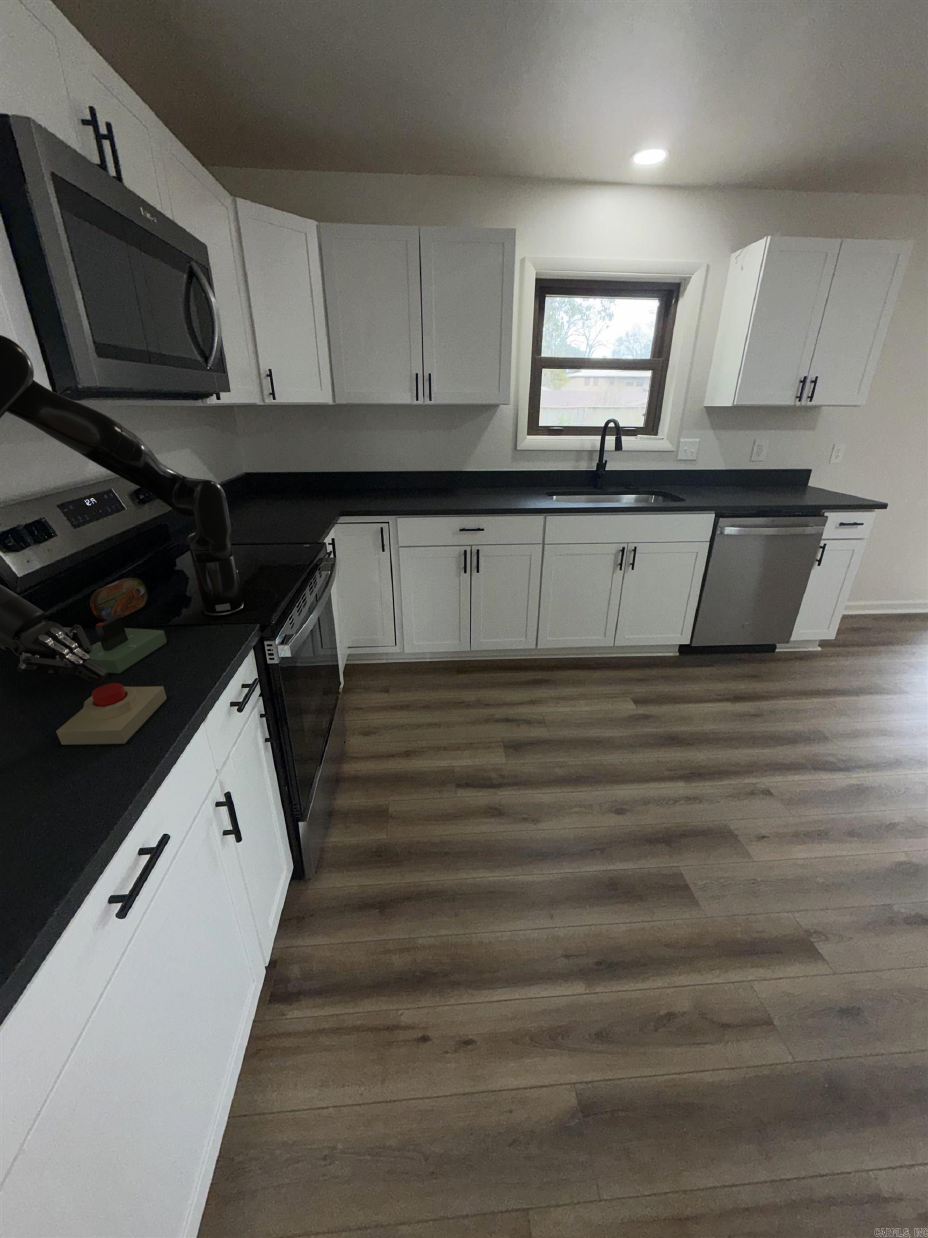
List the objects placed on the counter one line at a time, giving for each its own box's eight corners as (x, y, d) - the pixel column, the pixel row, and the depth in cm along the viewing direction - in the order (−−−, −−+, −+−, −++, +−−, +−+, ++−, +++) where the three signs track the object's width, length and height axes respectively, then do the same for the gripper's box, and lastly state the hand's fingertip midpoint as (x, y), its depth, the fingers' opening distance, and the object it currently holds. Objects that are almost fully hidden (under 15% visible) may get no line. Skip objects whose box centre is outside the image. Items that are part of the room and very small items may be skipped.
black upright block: (121, 639, 107) (113, 615, 104) (128, 639, 106) (120, 615, 104) (103, 650, 102) (94, 625, 100) (109, 650, 102) (101, 625, 100)
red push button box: (112, 699, 91) (104, 678, 89) (167, 698, 91) (160, 677, 89) (61, 745, 79) (51, 721, 77) (124, 743, 79) (116, 720, 77)
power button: (106, 693, 85) (102, 683, 85) (131, 692, 86) (128, 682, 85) (88, 707, 81) (85, 697, 81) (116, 707, 82) (112, 696, 81)
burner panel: (127, 639, 113) (123, 627, 112) (167, 642, 112) (163, 629, 111) (75, 670, 101) (70, 656, 100) (119, 673, 99) (114, 659, 98)
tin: (104, 626, 120) (93, 594, 116) (93, 625, 120) (82, 593, 117) (152, 603, 133) (143, 573, 130) (142, 602, 134) (133, 572, 130)
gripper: (-29, 614, 69) (90, 686, 75) (39, 581, 81) (137, 645, 87) (-52, 649, 71) (65, 716, 77) (18, 612, 83) (115, 672, 89)
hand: (103, 678), depth 82 cm, fingers closed
